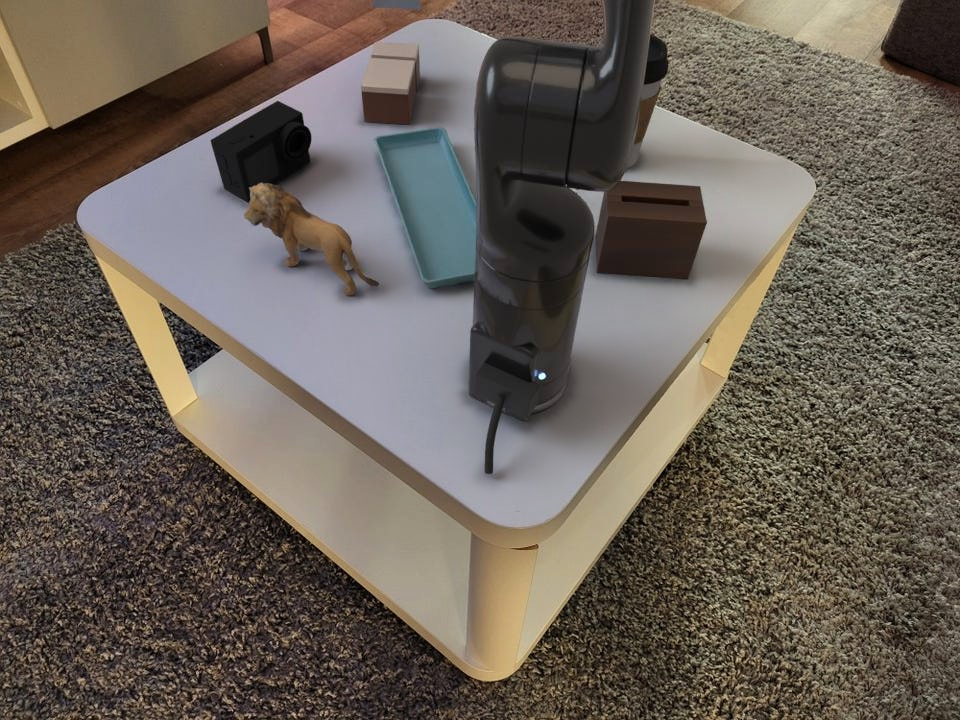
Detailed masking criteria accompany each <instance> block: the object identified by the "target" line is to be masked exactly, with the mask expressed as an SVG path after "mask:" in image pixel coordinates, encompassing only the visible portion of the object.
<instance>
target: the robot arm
mask: <svg viewBox="0 0 960 720" xmlns="http://www.w3.org/2000/svg"><path fill="white" fill-rule="evenodd" d="M600 3H601V9H602V18H603V20H602V21H603V36H602V41H601V44H599V45H597V46H595V45H588V44H581V43H573V42H564V41H559V40H558V41H557V40H548V39H541V38H535V37H534V38H532V37H525V36H513V35H512V36H511V35H510V36H502V37H499V38H498V39H496V40H495V41H494V42H493V43H492V44H491V45H490V46H489V48H488V49H487V51H486V53H485V55H484V58H483V60H482V62H481V65H480V68H479V72H478V76H477V82H476V88H475V97H474V98H475V99H474V108H473V111H474V113H473V115H474V117H473V118H474V120H473V122H474V128H473V129H474V133H473V134H474V135H473V136H474V159H475V185H476V186H475V187H476V189H475V190H476V197H475V199H476V249H475V274H474V281H473V304H472V305H473V307H472V308H473V309H472V326H471V328H470V330H469V361H468V362H469V364H468V392H467V393H468V395H469V396H470V397H471V398H474V399H475V400H478V401H480V402H482V403H484V404H486V405H488V406H490V407H491V408H493V409H492V412H491V413H492V414H491V417H490V420H489V425H488V429H487V434H486V440H485V447H484V448H485V449H484V473H485V475H492V474H493V473H494V450H495V441H496V436H497V430H498V426H499V423H500V419H501V415H502V413H505V414H508V415H510V416H512V417H514V418H516V419H518V420H521V421H523V422H526V421H527V420H528V419H529V418H530V416H531V415H533V414H535V413H539V412H541V411H545V410H546V409H548V408H550V407H552V406H553V405H555V404H556V403H557V402H558V401H559V400H560V399H561V397H562V396H563V395H564V393H565V391H566V388H567V385H568V378H569V369H570V364H571V357H572V352H573V346H574V341H575V335H576V331H577V325H578V321H579V315H580V309H581V304H582V299H583V293H584V289H585V288H584V287H585V283H586V279H587V275H588V267H589V262H590V258H591V253H592V247H593V242H594V237H595V219H594V216H593V213H592V210H591V208H590V207H589V205H588V203H587V202H586V201H585V200H584V198H582V197H581V195H579V194H578V193H577V192H576V191H575V190H579V191H580V190H581V191H587V192H597V193H598V192H599V193H600V192H601V193H602V192H603V193H604V192H606V191H609V190H612V189H613V188H614V187H616V186H617V184H618V183H619V182H620V181H622V179H623V178H624V175H625V173H626V171H627V169H628V168H627V166H628V163H629V160H630V157H631V153H632V149H633V145H634V141H635V136H636V131H637V125H638V119H639V113H640V107H641V100H642V93H643V85H644V78H645V70H646V63H647V55H648V48H649V40H650V34H652V33H651V32H652V25H653V18H654V10H655V3H656V0H600Z"/></svg>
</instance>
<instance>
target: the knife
mask: <svg viewBox="0 0 960 720" xmlns="http://www.w3.org/2000/svg"><path fill="white" fill-rule="evenodd" d="M371 4H372V8H379V9H396V10H411V11H421V0H371Z"/></svg>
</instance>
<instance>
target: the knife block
mask: <svg viewBox="0 0 960 720" xmlns="http://www.w3.org/2000/svg"><path fill="white" fill-rule="evenodd" d="M707 224H708V222H707V215H706V210H705V205H704V199H703V193H702V189H701V186H700V185H688V184H674V183H659V182H646V181H631V180H621V181H620V182H619V183H618V184H617V186H616V187H614V188H613V189H612V190H609V191H606V192H603V195H602V200H601V206H600V210H599V216H598V220H597V226H596V232H595V235H594V237H595V262H596V263H595V267H596V273H598V274H609V275H612V274H613V275H622V276H623V275H624V276H638V277H639V276H640V277H649V278H650V277H651V278H652V277H653V278H664V279H665V278H667V279H679V280H689V277H690V274H691V271H692V268H693V267H694V264H695V260H696V257H697V253H698V250H699V248H700V245H701V242H702V239H703V236H704V233H705V230H706V226H707Z"/></svg>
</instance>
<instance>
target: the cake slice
mask: <svg viewBox="0 0 960 720" xmlns="http://www.w3.org/2000/svg"><path fill="white" fill-rule="evenodd" d="M370 58H381V59H396V60H411V61H415V77H416V94H417V93H418V90H419V86H420V82H421V67H420V66H421V64H420V44H419V43H418V44H417V43H403V42H402V43H401V42H389V41H388V42H387V41H374V44H373V48H372V50H371V53H370Z"/></svg>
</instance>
